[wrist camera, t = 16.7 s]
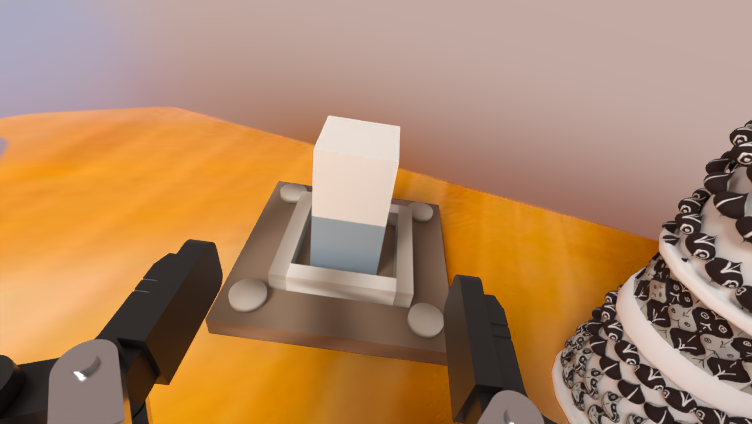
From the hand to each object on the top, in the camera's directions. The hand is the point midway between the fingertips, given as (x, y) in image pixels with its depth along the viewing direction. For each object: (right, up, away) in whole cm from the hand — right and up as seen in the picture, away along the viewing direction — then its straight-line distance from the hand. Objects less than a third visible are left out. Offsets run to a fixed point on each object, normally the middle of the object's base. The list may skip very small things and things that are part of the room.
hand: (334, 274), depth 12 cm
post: (-1, -1, +17) cm, 17 cm away
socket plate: (-1, -2, +18) cm, 18 cm away
